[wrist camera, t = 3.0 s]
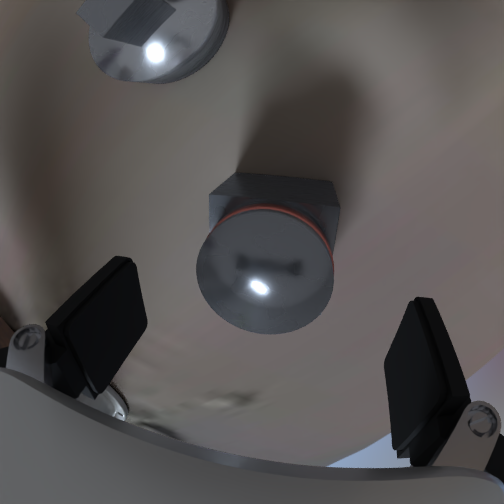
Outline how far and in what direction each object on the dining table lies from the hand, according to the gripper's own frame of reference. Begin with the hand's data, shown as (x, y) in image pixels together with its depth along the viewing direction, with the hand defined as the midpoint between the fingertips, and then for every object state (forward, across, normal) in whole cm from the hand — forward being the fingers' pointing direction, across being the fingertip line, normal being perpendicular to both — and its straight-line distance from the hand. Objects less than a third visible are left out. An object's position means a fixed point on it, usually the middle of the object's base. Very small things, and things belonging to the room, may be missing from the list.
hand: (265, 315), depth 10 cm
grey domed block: (+10, +1, +1) cm, 10 cm away
